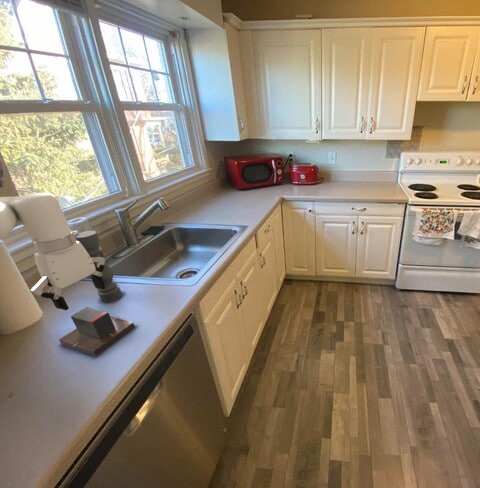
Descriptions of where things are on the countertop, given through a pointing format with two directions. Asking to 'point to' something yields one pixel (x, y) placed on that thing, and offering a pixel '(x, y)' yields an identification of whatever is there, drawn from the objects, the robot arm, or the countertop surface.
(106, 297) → the candle holder
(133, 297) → the countertop surface
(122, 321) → the stand
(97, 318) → the clock
